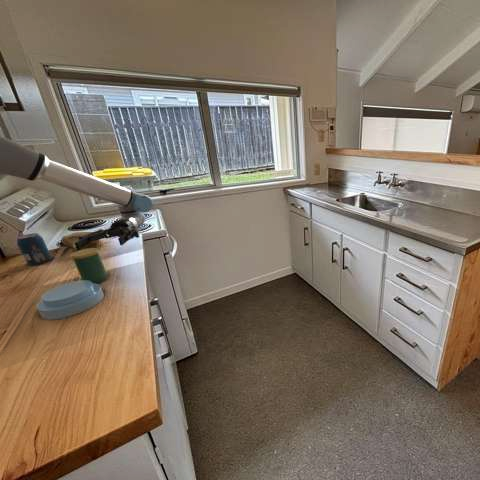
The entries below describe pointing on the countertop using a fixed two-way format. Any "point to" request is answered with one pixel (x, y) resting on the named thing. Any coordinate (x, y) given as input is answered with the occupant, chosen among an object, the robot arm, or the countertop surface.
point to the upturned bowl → (69, 299)
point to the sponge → (73, 238)
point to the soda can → (34, 249)
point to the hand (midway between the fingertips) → (99, 244)
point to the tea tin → (90, 265)
